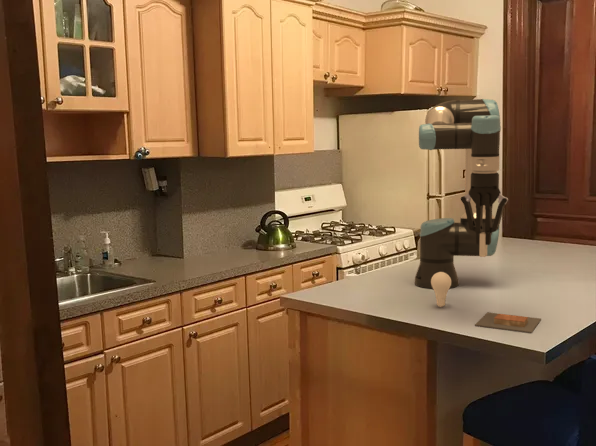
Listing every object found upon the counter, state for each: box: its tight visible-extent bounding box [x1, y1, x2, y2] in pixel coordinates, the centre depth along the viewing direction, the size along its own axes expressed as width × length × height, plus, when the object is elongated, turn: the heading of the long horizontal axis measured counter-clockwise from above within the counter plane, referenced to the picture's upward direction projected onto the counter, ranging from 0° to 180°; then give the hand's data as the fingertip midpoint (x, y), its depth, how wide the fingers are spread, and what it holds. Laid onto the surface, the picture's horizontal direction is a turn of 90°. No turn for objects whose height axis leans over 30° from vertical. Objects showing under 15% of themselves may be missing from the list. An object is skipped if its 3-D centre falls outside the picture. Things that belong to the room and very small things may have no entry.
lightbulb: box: [431, 272, 451, 308], centre depth 196 cm, size 6×6×11 cm
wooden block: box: [494, 313, 529, 327], centre depth 177 cm, size 2×5×8 cm
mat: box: [474, 311, 542, 334], centre depth 178 cm, size 15×14×1 cm
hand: (483, 255), depth 179 cm, fingers closed
